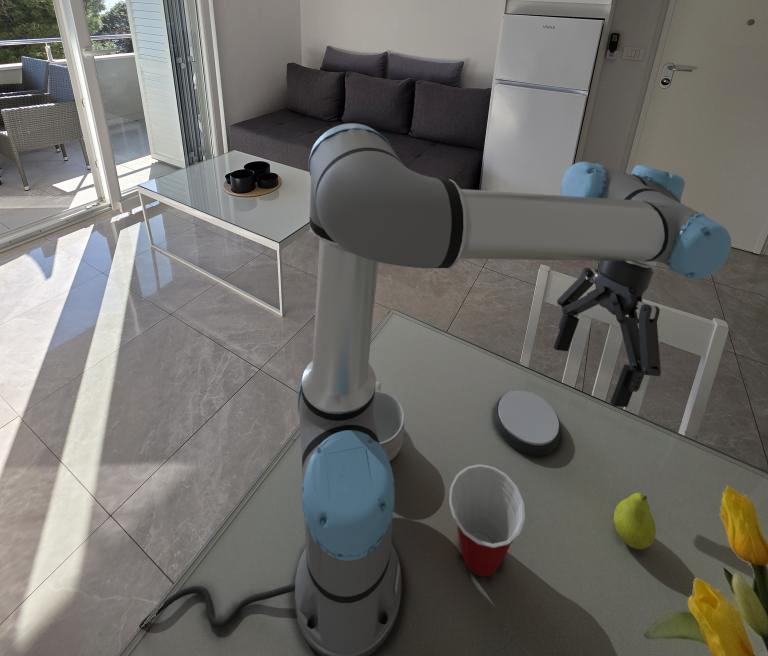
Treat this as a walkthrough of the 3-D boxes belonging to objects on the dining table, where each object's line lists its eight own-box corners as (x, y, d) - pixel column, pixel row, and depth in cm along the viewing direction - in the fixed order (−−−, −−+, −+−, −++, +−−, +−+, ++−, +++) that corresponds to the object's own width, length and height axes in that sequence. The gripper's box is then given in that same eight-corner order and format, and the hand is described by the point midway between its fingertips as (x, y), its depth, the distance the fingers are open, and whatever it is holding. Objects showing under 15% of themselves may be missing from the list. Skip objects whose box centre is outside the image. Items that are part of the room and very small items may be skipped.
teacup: (397, 481, 76) (399, 449, 73) (338, 468, 77) (338, 435, 75) (409, 412, 88) (410, 382, 86) (358, 401, 90) (358, 372, 88)
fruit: (637, 516, 71) (653, 465, 68) (658, 560, 66) (677, 507, 62) (602, 516, 71) (617, 465, 68) (621, 559, 66) (638, 506, 62)
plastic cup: (440, 511, 71) (445, 460, 68) (505, 515, 71) (514, 464, 67) (447, 597, 61) (453, 542, 57) (523, 602, 61) (535, 547, 57)
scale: (506, 457, 80) (508, 446, 79) (487, 399, 92) (488, 389, 91) (570, 454, 81) (572, 444, 80) (543, 397, 93) (545, 387, 92)
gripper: (721, 301, 60) (669, 435, 62) (591, 234, 83) (556, 333, 86) (683, 294, 58) (630, 434, 60) (561, 227, 81) (526, 329, 83)
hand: (587, 374), depth 73 cm, fingers open, 13 cm apart
